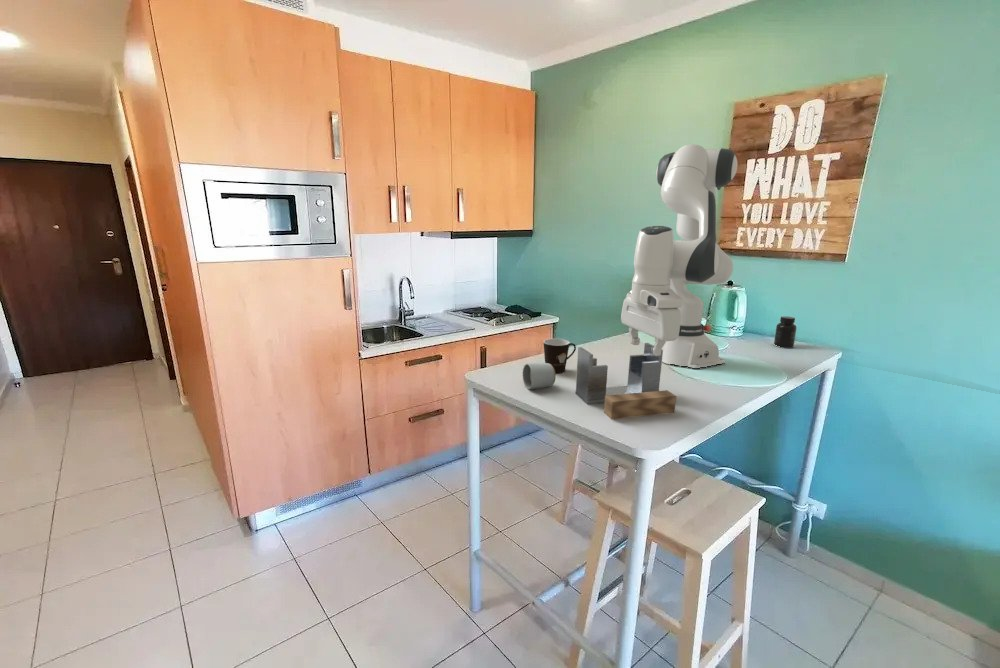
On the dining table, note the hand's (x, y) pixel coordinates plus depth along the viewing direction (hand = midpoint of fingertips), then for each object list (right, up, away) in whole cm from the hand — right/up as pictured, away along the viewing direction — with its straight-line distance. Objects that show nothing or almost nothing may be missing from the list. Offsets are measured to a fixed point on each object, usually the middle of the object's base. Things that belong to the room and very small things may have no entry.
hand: (644, 349), depth 108 cm
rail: (0, -17, +4) cm, 18 cm away
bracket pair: (-3, -14, +15) cm, 21 cm away
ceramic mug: (-25, -12, +23) cm, 36 cm away
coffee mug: (-16, -9, +36) cm, 41 cm away
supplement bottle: (+79, -1, +67) cm, 103 cm away
